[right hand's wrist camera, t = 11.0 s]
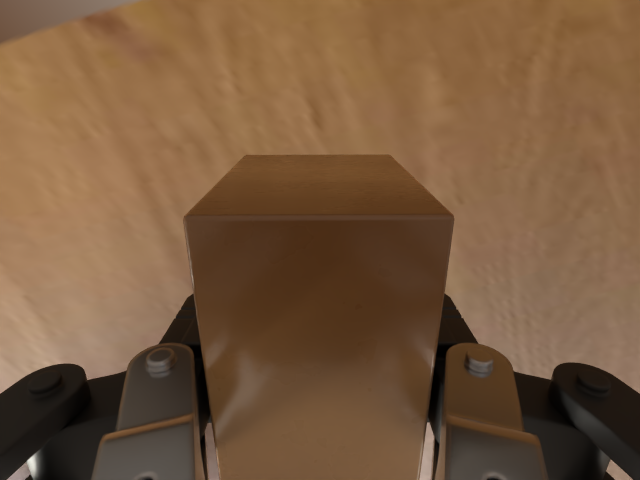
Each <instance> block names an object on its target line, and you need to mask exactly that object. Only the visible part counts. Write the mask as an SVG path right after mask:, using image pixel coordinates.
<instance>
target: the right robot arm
mask: <svg viewBox="0 0 640 480" xmlns="http://www.w3.org/2000/svg"><path fill="white" fill-rule="evenodd" d="M427 422H430V425H431V428H432V431H433V434H434V442H433V453H432V468H431V480H615V479H614V478H613V477H611V476H610V475H609V474H608V473H607V472H606V469H607V467H608V464H609V462H610V459H611V460H613V461H614V462H615V463H616V464H617V465H618V466H619V467H620V468H621V469H622V470H623V471H625V472H626V473H627V474H628V475H629V476H630V477H631V478H632V479H633V480H640V394H639V393H638V392H636V391H635V390H633V389H632V388H631V387H629V386H628V385H626V384H625V383H624V382H622V381H621V380H619V379H618V378H616V377H615V376H613V375H612V374H610V373H608V372H606V371H604V370H601V369H599V368H596V367H594V366H590V365H587V364H582V363H563V364H560V365H558V366H557V367H556V368H555V369H554V371H553V375H552V378H551V380H549V379H545V378H540V377H535V376H531V375H526V374H521V373H518V372H514V371H513V368H512V365H511V363H510V361H509V360H508V359H507V358H506V357H505V356H504V355H503V354H501V353H500V352H498V351H496V350H495V349H493V348H490V347H488V346H485V345H481V344H478V342H477V340H476V339H475V337H474V336H473V334H472V332H471V331H470V329H469V327H468V326H467V324H466V323H465V321H464V319H463V318H461V314H460V313H459V311H458V310H456V306H455V305H454V303H453V301H452V300H451V298H450V297H449V296H447V295H446V294H445V293H444V300H443V307H442V315H441V322H440V329H439V337H438V344H437V352H436V359H435V367H434V374H433V381H432V389H431V396H430V404H429V411H428V419H427ZM207 423H212V422H211V415H210V407H209V400H208V393H207V386H206V379H205V372H204V365H203V358H202V350H201V343H200V336H199V329H198V322H197V315H196V308H195V301H194V294H192V295H191V296H189V297H188V298H187V299H186V301H185V303H184V304H183V306H182V308H181V310H180V311H179V312H178V314H177V316H176V319H174V320H173V322H172V324H171V325H170V327H169V328H168V330H167V332H166V333H165V335H164V336H163V338H162V340H161V341H160V343H159V344H158V345H155V346H152V347H150V348H147V349H145V350H144V351H142V352H140V353H139V354H137V355H136V356H135V357H134V358H133V359H132V360H131V361H130V363H129V365H128V368H127V371H124V372H121V373H118V374H114V375H109V376H105V377H100V378H95V379H91V380H87V378H86V374H85V371H84V369H83V368H82V367H80V366H78V365H75V364H57V365H52V366H49V367H45V368H42V369H40V370H37V371H35V372H33V373H31V374H29V375H27V376H25V377H24V378H22V379H21V380H19V381H18V382H16V383H15V384H14V385H12V386H11V387H9V388H8V389H7V390H5V391H4V392H2V393H1V394H0V480H7V479H8V478H9V477H10V476H11V475H12V474H13V473H14V472H15V471H17V470H18V469H19V468H20V467H21V466H22V465H23V464H24V463H25V462H26V463H27V465H28V468H29V470H30V473H31V475H30V476H29V477H27V478H26V479H25V480H209V468H208V454H207V442H206V435H205V429H206V426H207Z"/></svg>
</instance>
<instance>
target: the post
mask: <svg viewBox="0 0 640 480" xmlns="http://www.w3.org/2000/svg"><path fill="white" fill-rule="evenodd" d="M183 222H184V230H185V237H186V244H187V251H188V258H189V265H190V272H191V279H192V286H193V294H194V301H195V308H196V315H197V322H198V329H199V336H200V343H201V350H202V358H203V365H204V372H205V379H206V386H207V393H208V400H209V407H210V415H211V422H212V429H213V436H214V443H215V450H216V457H217V464H218V471H219V479H220V480H419V478H420V471H421V463H422V456H423V448H424V441H425V433H426V426H427V419H428V411H429V404H430V396H431V389H432V381H433V374H434V367H435V359H436V352H437V344H438V337H439V329H440V322H441V315H442V307H443V300H444V292H445V285H446V277H447V270H448V263H449V255H450V248H451V240H452V233H453V225H454V216H453V214H452V213H451V212H450V211H448V210H447V209H446V208H445V207H444V206H443V205H442V204H441V203H440V202H439V201H438V200H437V199H436V198H435V197H434V196H433V195H432V194H431V193H430V192H428V191H427V190H426V189H425V188H424V187H423V186H422V185H421V184H420V183H419V182H418V181H417V180H416V179H415V178H414V177H413V176H412V175H411V174H410V173H408V172H407V171H406V170H405V169H404V168H403V167H402V166H401V165H400V164H399V163H398V162H397V161H396V160H395V159H394V158H393V157H392V156H390V155H246V156H244V157H243V158H242V159H241V160H240V161H239V162H238V163H237V164H236V165H235V166H234V167H233V168H232V169H231V170H230V171H229V172H228V173H227V174H226V175H225V176H224V177H223V178H222V179H221V180H220V181H219V182H218V183H217V184H216V185H215V186H214V187H213V188H212V189H211V190H210V191H209V192H208V193H207V194H206V195H205V196H204V197H203V198H202V199H201V200H200V201H199V202H198V203H197V204H196V205H195V206H194V207H193V208H192V209H191V210H190V211H189V212H188V213H187V214H186V215H185V216H184V219H183Z"/></svg>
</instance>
